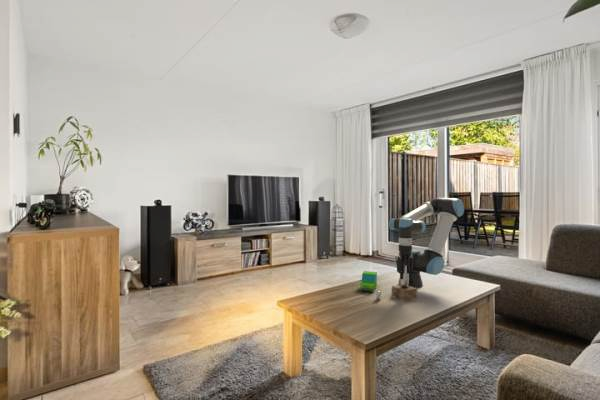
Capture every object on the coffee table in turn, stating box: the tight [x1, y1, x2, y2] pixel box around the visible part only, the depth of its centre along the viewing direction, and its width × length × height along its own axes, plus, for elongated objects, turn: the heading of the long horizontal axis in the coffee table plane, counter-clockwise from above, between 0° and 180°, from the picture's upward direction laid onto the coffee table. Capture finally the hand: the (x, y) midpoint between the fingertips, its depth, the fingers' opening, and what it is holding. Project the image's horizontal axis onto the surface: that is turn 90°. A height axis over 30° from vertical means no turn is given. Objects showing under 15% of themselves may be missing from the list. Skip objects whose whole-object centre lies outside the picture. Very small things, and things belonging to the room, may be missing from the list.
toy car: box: [359, 270, 378, 293], centre depth 214 cm, size 10×13×10 cm
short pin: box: [375, 290, 382, 302], centre depth 195 cm, size 2×2×5 cm
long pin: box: [402, 265, 407, 289], centre depth 200 cm, size 2×2×16 cm
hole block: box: [391, 284, 418, 302], centre depth 200 cm, size 10×10×6 cm
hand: (404, 283), depth 200 cm, fingers closed on long pin, 2 cm apart
